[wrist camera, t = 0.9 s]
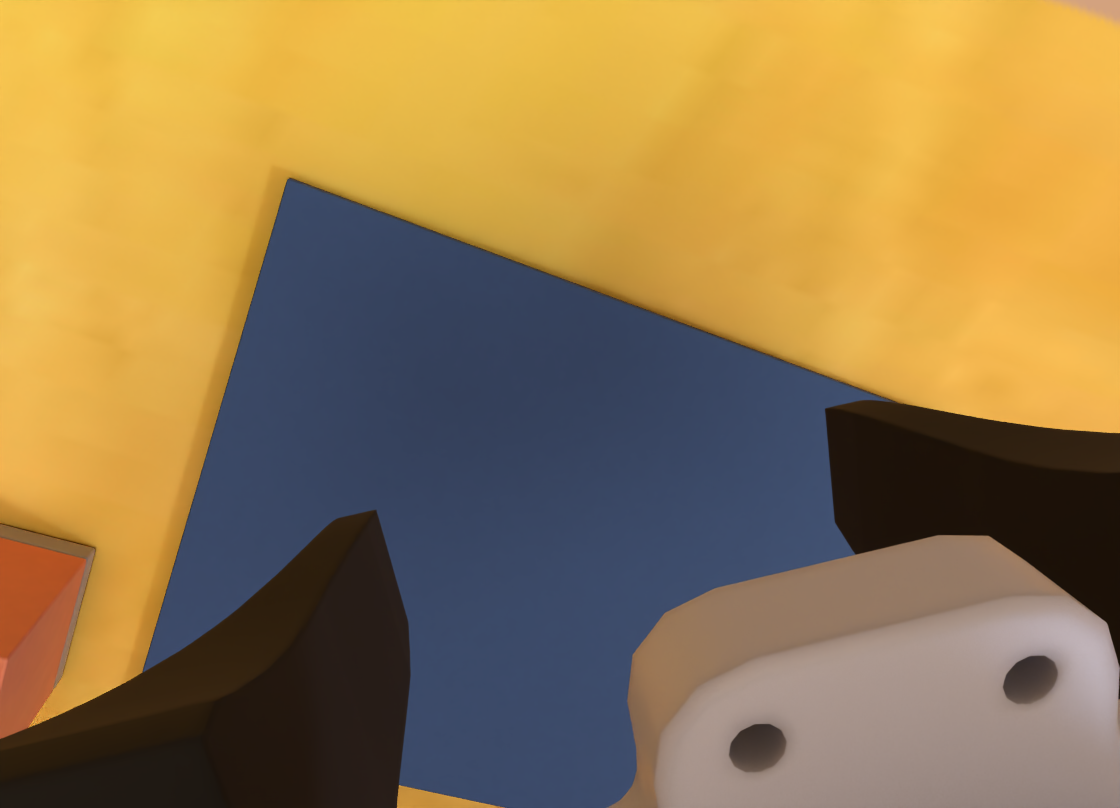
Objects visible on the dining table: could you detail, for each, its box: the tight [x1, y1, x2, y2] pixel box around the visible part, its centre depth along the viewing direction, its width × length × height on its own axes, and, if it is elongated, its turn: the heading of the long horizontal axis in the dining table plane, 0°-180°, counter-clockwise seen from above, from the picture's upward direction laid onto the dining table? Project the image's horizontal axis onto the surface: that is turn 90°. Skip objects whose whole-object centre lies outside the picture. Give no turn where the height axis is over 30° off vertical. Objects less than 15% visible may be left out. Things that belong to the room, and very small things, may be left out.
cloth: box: [142, 178, 897, 808], centre depth 25 cm, size 16×20×1 cm
